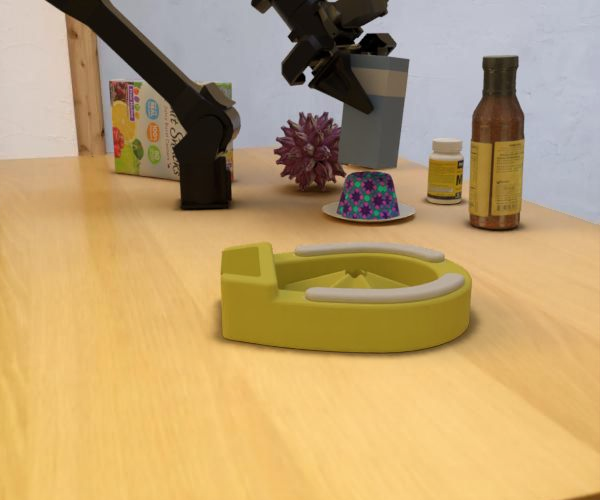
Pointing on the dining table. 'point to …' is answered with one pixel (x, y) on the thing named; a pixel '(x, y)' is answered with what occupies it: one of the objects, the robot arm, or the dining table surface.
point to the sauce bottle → (497, 148)
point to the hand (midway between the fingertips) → (382, 109)
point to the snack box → (149, 129)
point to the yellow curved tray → (343, 297)
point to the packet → (375, 113)
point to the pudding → (368, 199)
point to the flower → (310, 151)
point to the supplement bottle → (445, 171)
